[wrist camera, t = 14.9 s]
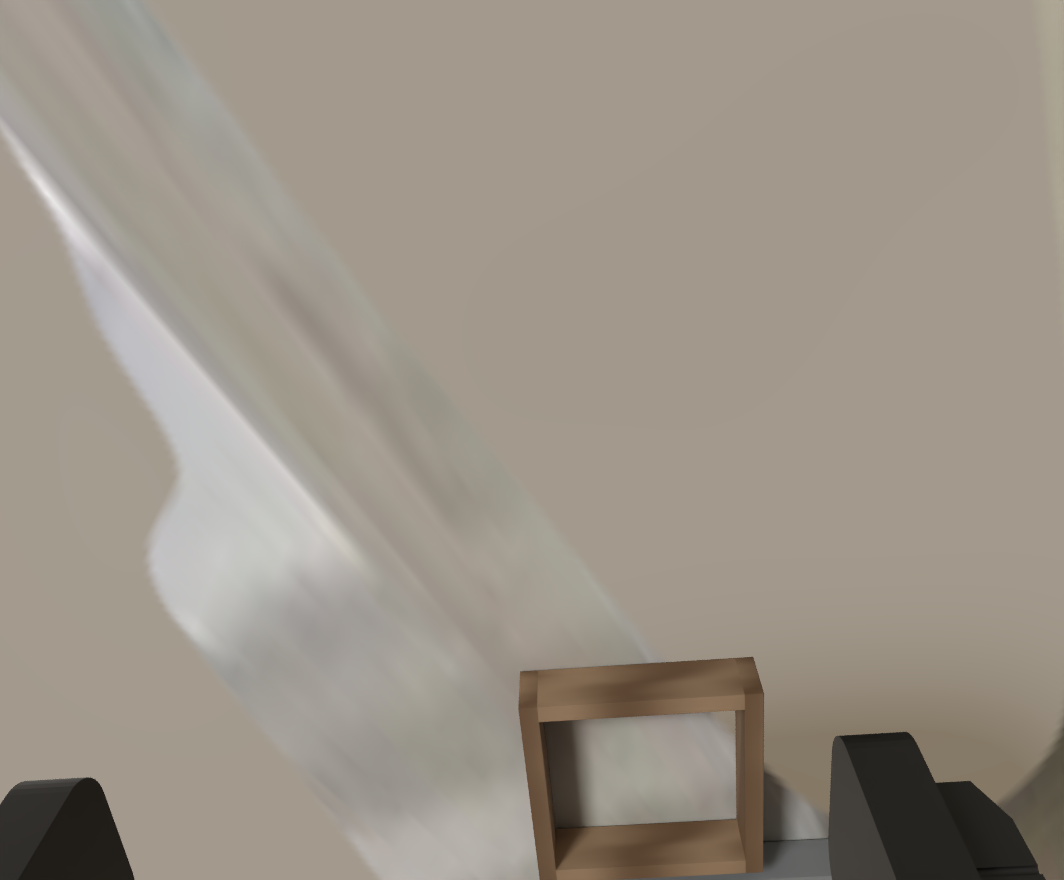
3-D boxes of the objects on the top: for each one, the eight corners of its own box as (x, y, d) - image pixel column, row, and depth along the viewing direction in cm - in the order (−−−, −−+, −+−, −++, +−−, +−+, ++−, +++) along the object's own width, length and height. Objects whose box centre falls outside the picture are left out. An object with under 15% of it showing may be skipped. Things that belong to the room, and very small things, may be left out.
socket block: (753, 657, 44) (763, 693, 42) (753, 830, 48) (763, 872, 46) (520, 671, 45) (518, 708, 42) (540, 841, 49) (540, 883, 47)
